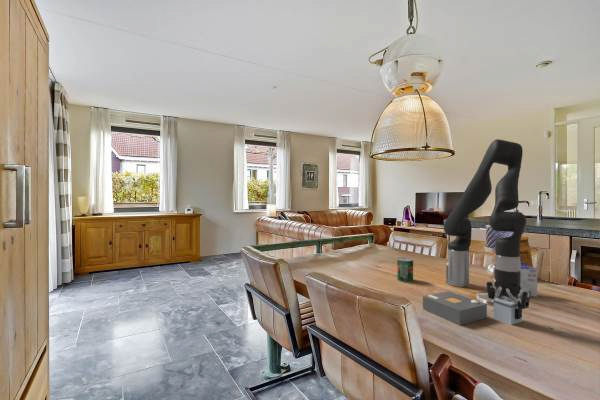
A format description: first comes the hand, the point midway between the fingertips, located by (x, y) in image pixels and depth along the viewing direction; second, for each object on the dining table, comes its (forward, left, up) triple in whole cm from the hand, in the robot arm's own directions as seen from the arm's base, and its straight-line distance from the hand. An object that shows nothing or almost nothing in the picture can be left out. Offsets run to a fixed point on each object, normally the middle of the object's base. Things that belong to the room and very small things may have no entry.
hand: (507, 315), depth 105 cm
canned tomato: (-53, +3, -2) cm, 53 cm away
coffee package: (-31, +59, -2) cm, 67 cm away
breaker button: (-12, -12, -1) cm, 17 cm away
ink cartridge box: (-14, +33, -2) cm, 36 cm away
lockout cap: (0, 0, -2) cm, 2 cm away
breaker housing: (-12, -12, -2) cm, 17 cm away
